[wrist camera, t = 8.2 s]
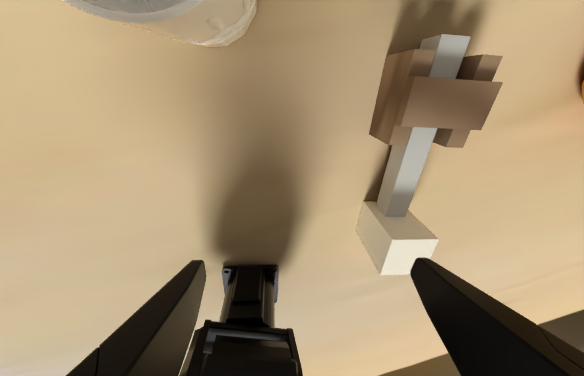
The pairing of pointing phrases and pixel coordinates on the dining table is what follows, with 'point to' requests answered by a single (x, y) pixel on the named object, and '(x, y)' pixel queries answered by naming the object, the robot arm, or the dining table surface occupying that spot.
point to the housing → (433, 98)
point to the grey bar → (407, 182)
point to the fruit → (583, 90)
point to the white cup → (179, 17)
